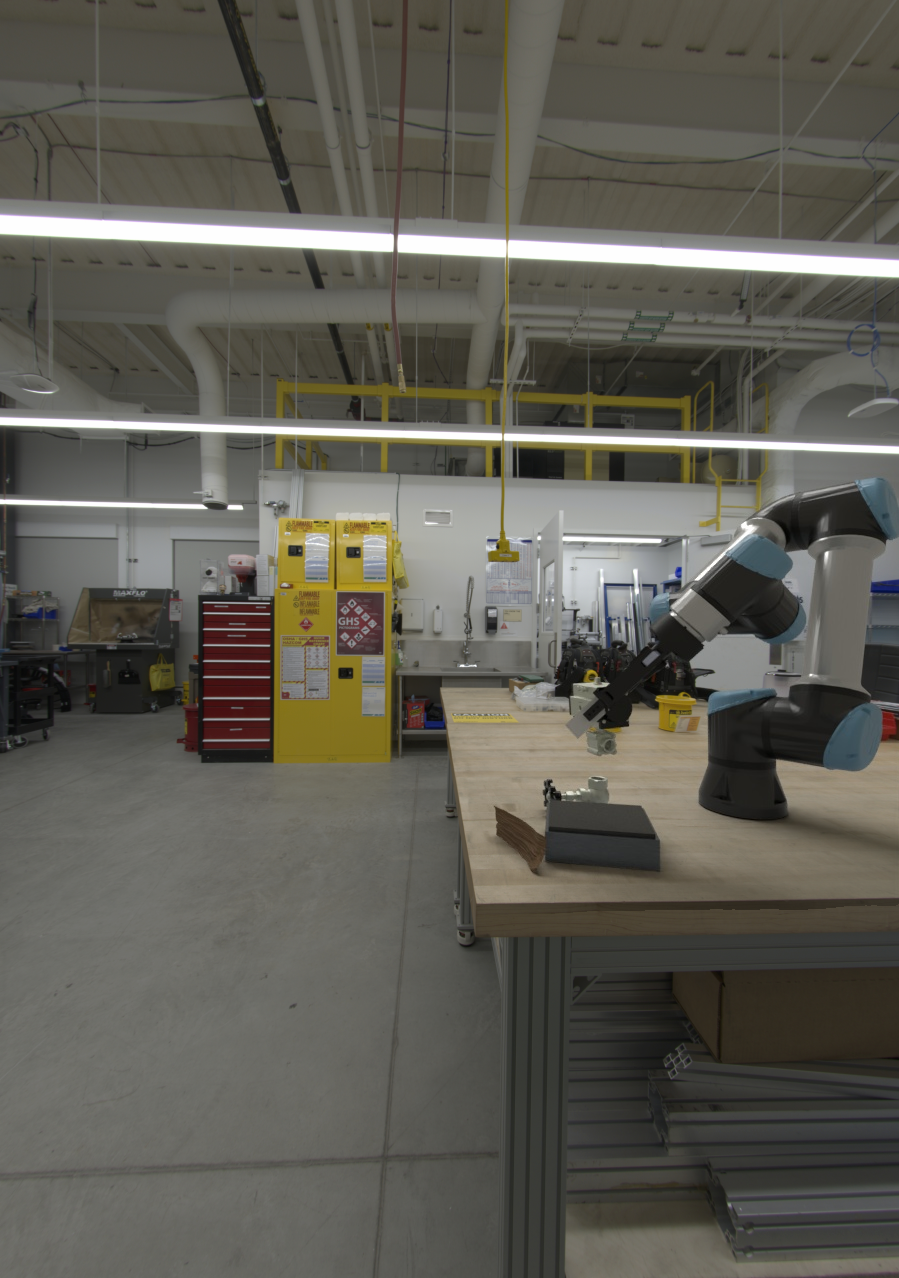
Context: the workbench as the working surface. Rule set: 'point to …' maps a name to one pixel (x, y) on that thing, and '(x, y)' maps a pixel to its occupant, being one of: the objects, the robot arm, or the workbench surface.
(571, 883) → the workbench surface
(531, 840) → the wood plank
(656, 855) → the stand
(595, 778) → the valve
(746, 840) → the workbench surface
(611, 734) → the pneumatic valve
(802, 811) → the workbench surface
